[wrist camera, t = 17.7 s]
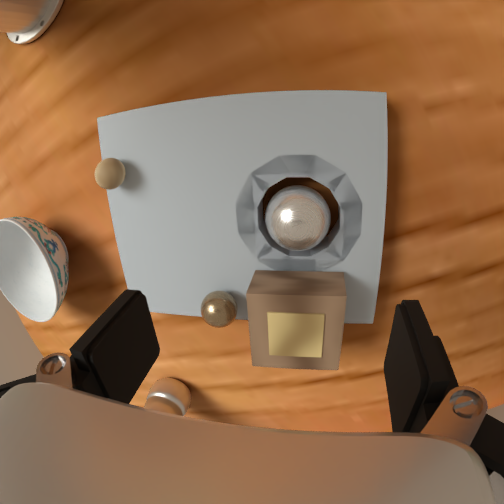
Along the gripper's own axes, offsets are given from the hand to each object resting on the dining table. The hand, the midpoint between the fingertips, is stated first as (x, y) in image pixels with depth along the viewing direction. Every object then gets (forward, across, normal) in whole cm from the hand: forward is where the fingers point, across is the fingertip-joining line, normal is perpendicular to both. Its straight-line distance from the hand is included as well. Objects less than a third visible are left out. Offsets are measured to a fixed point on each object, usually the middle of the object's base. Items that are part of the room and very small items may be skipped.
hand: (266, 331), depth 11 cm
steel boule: (+19, 0, +2) cm, 19 cm away
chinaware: (+22, +35, +7) cm, 42 cm away
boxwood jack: (+18, +18, -4) cm, 25 cm away
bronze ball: (+17, +8, +11) cm, 22 cm away
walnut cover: (+19, 0, +11) cm, 22 cm away
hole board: (+22, +6, +2) cm, 23 cm away
